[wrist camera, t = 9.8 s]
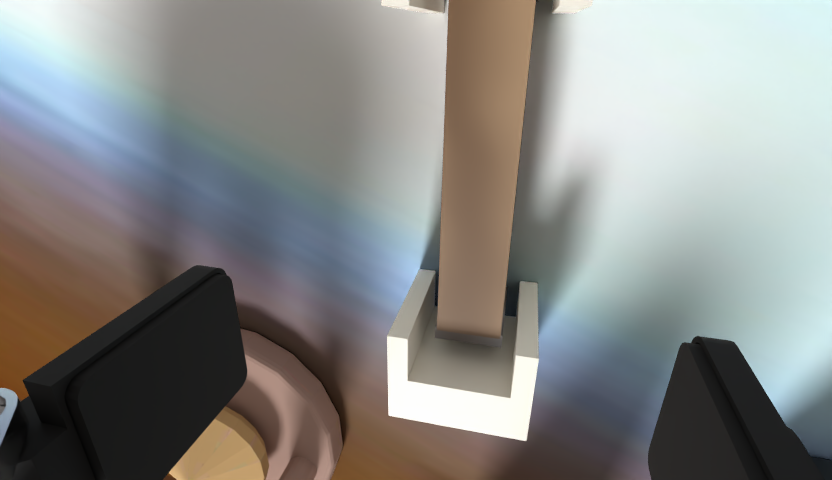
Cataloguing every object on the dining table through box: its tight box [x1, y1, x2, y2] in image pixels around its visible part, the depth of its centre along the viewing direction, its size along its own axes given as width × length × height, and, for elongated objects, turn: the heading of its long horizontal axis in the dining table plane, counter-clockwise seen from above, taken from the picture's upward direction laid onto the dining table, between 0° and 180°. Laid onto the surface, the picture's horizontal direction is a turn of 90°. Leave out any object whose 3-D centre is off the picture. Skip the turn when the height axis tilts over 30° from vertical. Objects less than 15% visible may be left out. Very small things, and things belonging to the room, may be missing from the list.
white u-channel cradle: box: [381, 0, 593, 441], centre depth 21 cm, size 7×24×7 cm, turn 0°
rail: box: [435, 0, 538, 348], centre depth 22 cm, size 3×16×5 cm, turn 0°
